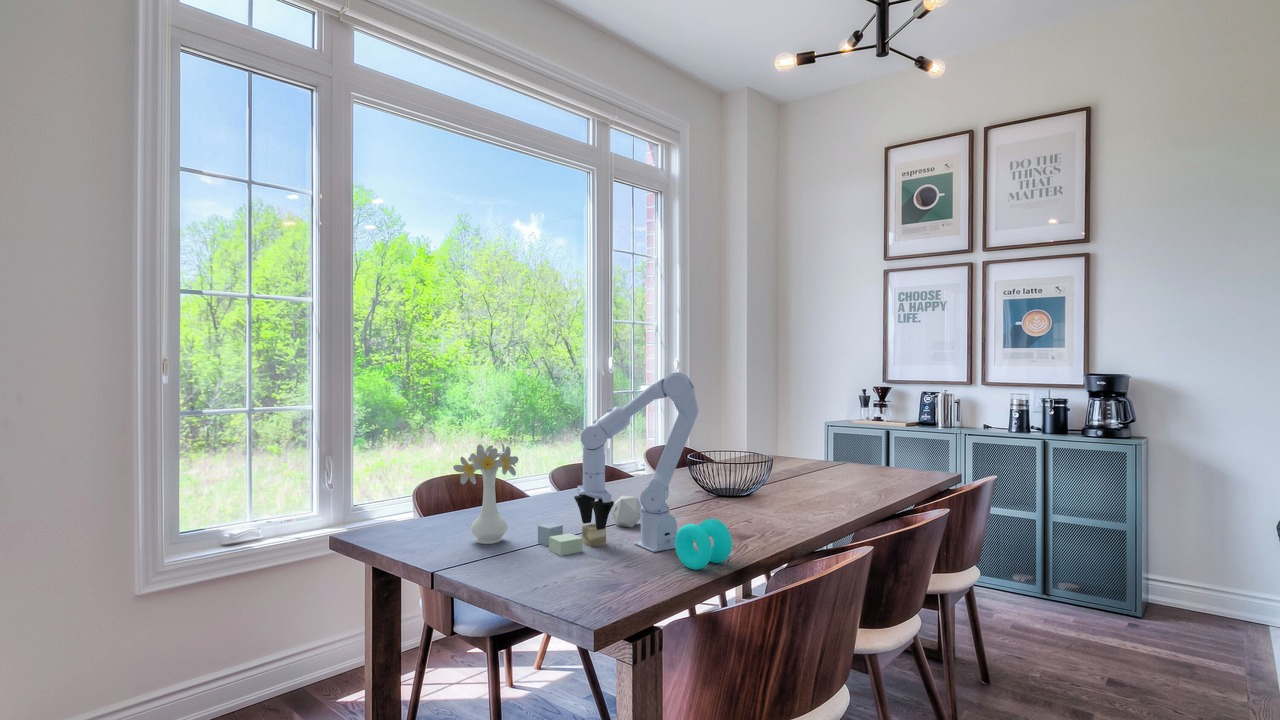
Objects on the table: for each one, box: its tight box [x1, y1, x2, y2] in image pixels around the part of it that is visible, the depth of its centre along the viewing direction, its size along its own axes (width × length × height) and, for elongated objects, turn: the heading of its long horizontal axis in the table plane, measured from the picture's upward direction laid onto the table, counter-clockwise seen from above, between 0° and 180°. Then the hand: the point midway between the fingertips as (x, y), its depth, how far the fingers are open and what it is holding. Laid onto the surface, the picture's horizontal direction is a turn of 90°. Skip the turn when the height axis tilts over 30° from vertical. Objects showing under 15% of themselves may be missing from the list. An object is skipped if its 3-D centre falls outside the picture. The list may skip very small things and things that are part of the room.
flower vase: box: [452, 442, 519, 545], centre depth 172 cm, size 13×18×25 cm
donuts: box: [674, 518, 733, 571], centre depth 151 cm, size 10×10×10 cm
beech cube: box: [581, 523, 607, 548], centre depth 170 cm, size 4×4×4 cm
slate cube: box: [537, 521, 564, 547], centre depth 171 cm, size 4×4×4 cm
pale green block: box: [548, 532, 583, 557], centre depth 163 cm, size 6×6×4 cm
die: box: [610, 495, 642, 528], centre depth 189 cm, size 8×9×10 cm
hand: (593, 525), depth 170 cm, fingers open, 7 cm apart
